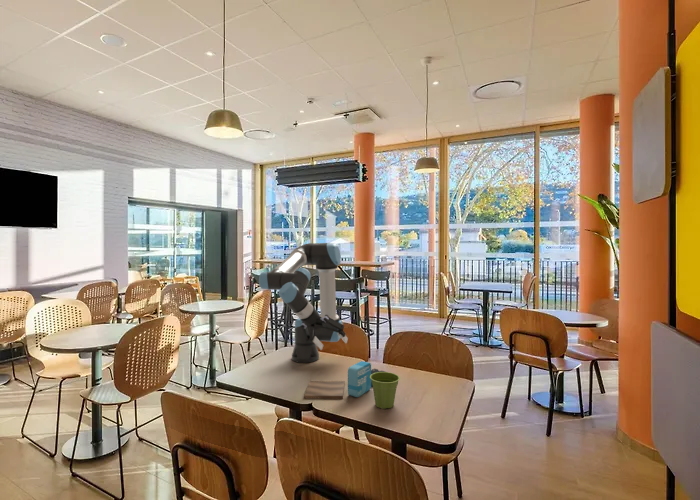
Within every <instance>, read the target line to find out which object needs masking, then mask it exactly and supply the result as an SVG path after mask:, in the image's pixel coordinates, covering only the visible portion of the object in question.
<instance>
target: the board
mask: <svg viewBox="0 0 700 500" xmlns="http://www.w3.org/2000/svg"><path fill="white" fill-rule="evenodd" d="M307 385H308V386H307V388H306V390H305V392H304V399H325V400H326V399H329V400H332V399H333V400H335V399H337V400H344V394H345V393H344V392H345V386H346V381H345V380H309V382H308V384H307Z"/></svg>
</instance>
